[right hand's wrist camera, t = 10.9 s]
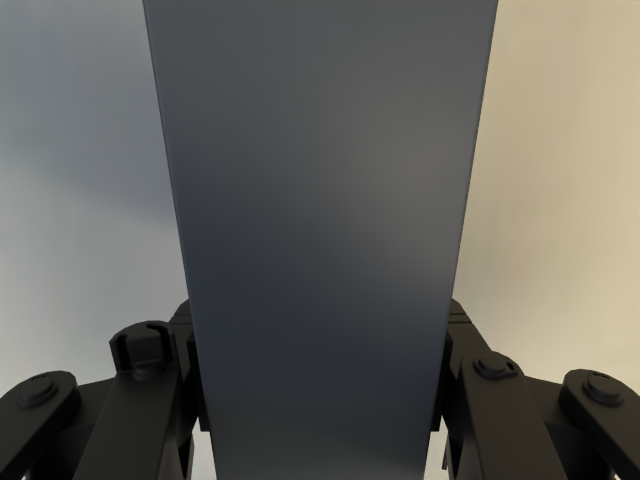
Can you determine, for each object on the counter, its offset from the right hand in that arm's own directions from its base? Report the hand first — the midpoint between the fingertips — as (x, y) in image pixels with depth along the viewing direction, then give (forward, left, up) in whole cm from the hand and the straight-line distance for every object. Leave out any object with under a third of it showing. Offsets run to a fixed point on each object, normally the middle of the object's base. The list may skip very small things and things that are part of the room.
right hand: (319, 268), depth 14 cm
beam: (+15, -17, -1) cm, 23 cm away
